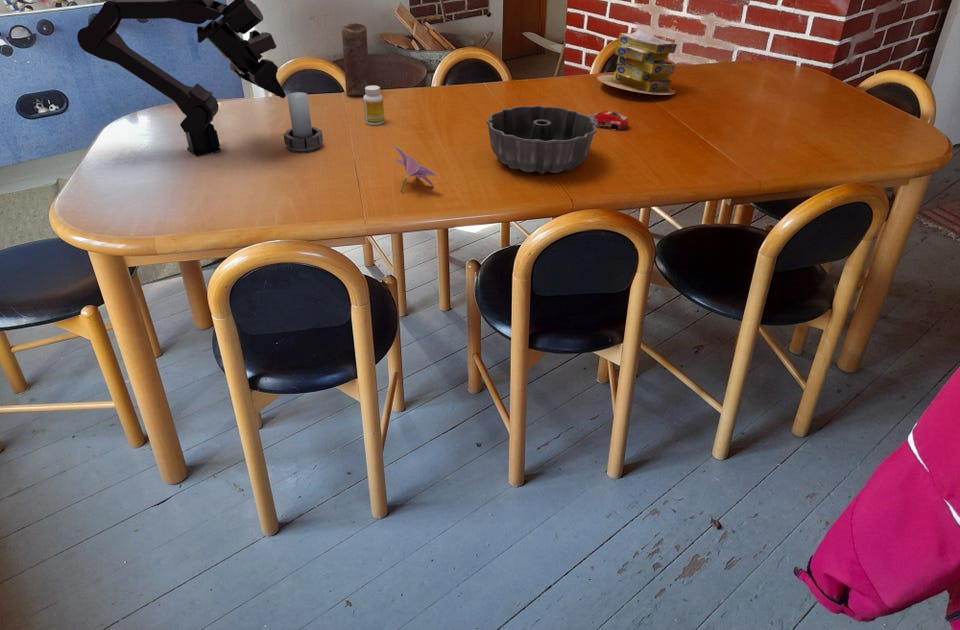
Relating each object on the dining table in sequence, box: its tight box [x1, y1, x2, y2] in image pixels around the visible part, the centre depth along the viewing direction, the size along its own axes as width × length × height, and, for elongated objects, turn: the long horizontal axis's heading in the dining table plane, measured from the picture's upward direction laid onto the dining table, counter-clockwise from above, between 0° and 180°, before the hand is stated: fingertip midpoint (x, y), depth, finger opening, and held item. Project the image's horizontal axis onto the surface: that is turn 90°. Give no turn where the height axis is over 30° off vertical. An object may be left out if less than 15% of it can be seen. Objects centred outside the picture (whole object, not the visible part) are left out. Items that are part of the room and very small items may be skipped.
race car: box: [584, 110, 629, 131], centre depth 192 cm, size 13×5×4 cm, turn 66°
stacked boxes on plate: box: [596, 28, 678, 96], centre depth 216 cm, size 25×25×17 cm
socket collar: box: [282, 126, 324, 154], centre depth 177 cm, size 9×9×4 cm
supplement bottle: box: [362, 85, 385, 126], centre depth 191 cm, size 5×5×10 cm
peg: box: [286, 91, 313, 138], centre depth 174 cm, size 5×5×12 cm
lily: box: [392, 144, 438, 193], centre depth 156 cm, size 12×12×10 cm
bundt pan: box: [486, 104, 598, 175], centre depth 169 cm, size 26×26×10 cm
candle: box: [341, 22, 371, 97], centre depth 208 cm, size 8×7×20 cm
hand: (277, 93), depth 172 cm, fingers open, 9 cm apart
